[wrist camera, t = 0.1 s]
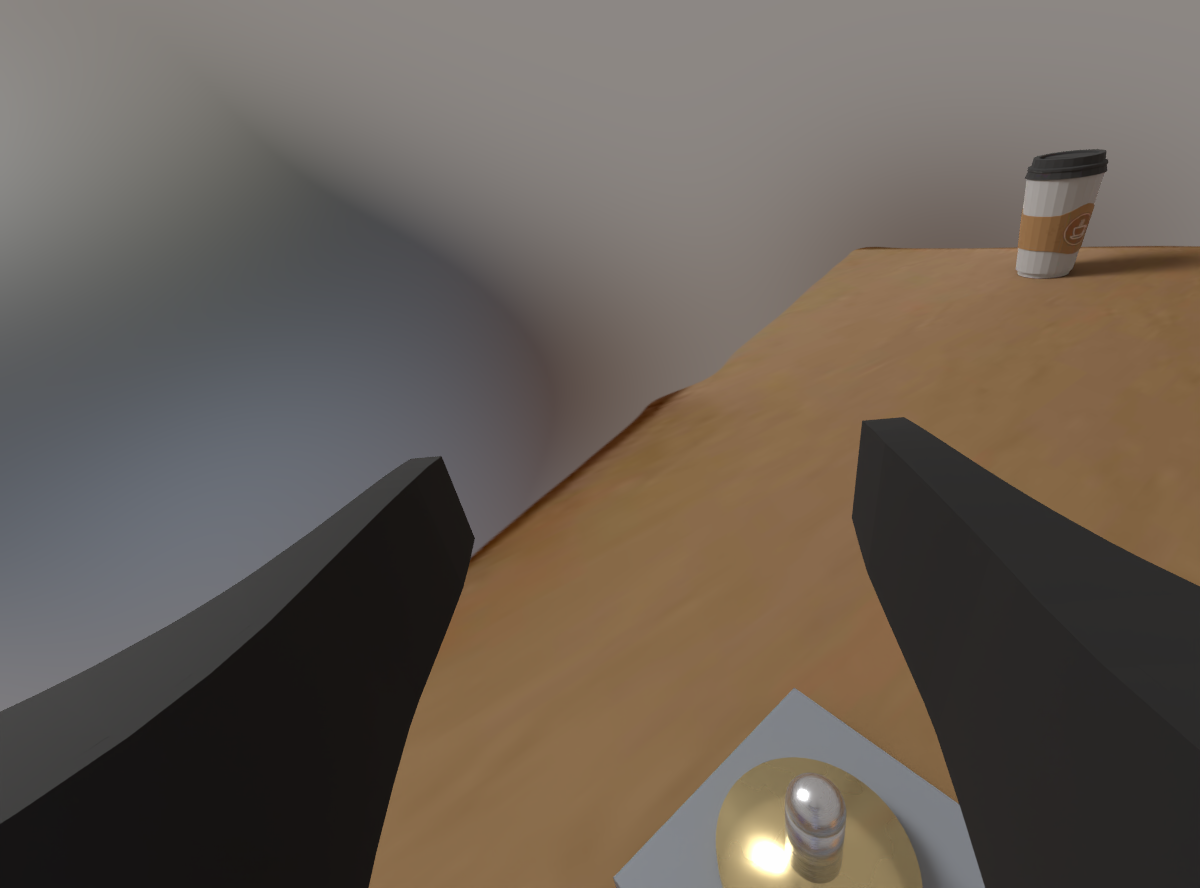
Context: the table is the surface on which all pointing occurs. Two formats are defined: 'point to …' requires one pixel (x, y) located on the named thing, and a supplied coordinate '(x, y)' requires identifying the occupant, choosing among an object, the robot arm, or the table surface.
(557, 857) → the table surface
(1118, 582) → the robot arm
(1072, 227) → the coffee cup
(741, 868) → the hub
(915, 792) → the board
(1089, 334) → the table surface
